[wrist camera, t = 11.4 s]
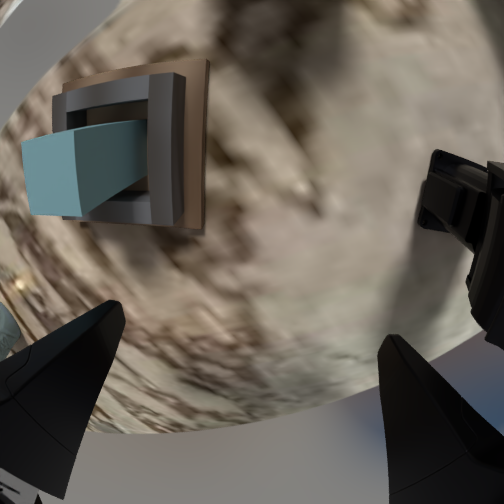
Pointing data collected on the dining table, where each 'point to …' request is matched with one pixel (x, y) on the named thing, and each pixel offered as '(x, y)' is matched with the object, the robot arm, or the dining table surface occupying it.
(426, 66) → the dining table surface
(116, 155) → the peg
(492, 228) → the robot arm
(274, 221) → the dining table surface
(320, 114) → the dining table surface
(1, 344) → the blue-green cup
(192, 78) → the socket block
